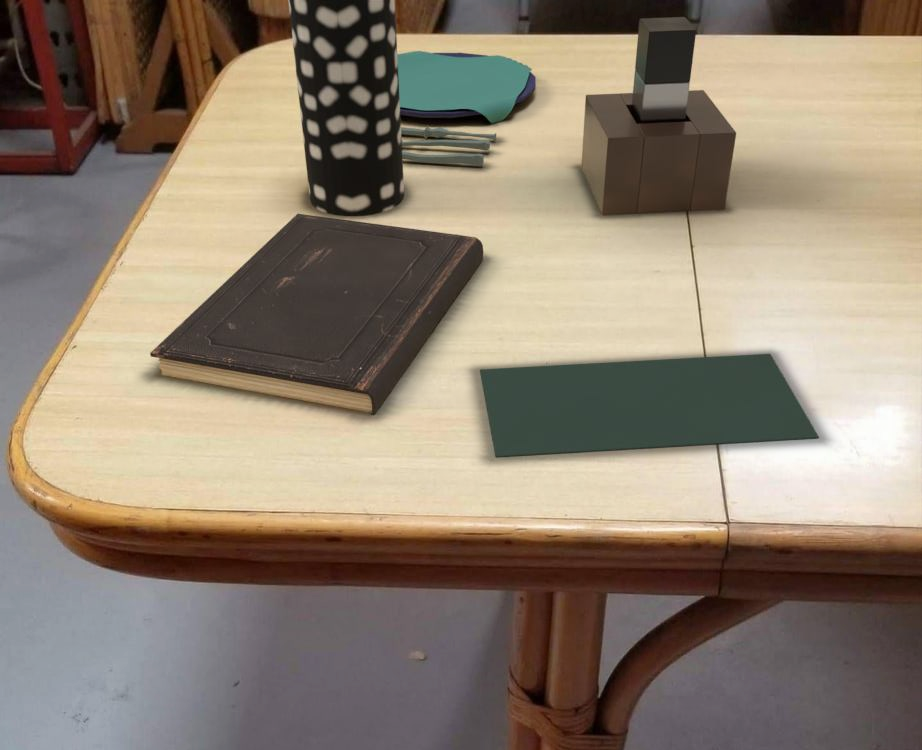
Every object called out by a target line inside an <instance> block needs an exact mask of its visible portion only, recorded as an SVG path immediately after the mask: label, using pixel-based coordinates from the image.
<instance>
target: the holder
mask: <svg viewBox="0 0 922 750" xmlns="http://www.w3.org/2000/svg"><path fill="white" fill-rule="evenodd" d="M632 97H633V92H625V93H624V92H623V93H621V92H620V93H599V94H597V93H596V94H585V103H584V117H583V134H582V148H581V149H582V151H581V167H580V168H581V171H582V173H583V175H584V178H585V180H586V182H587V184H588V187H589V189H590V191H591V194H592V197H593V198H594V201H595V203H596V206H597V207H598V210H599V212H600V214H601V216H622V215H623V216H624V215H644V214H662V213H663V214H665V213H685V212H707V211H725V208H726V203H727V196H728V195H727V194H728V190H729V185H730V176H731V170H732V164H733V159H734V158H733V157H734V151H735V144H736V139H737V138H736V137H737V131H736V130H735V129H734V128H733V125H731V124H730V123H729V121H728V120H727V118H726V117H725V116H724V115H723V113H722V112H721V111H720V110H719V108H718V107H717V106H716V104H715V103H714V101H713V100H712V99H711V98H710V96H709V95H708V94H707V92H706V91H705V90H704V89H697V90H696V89H694V90H693V89H692V90H689V93H688V101H687V109H686V118H685V122H668V123H645V124H637V123H636V122H635V120H634V118H633V117H632V115H631V109H632Z"/></svg>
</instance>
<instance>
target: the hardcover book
mask: <svg viewBox="0 0 922 750" xmlns="http://www.w3.org/2000/svg"><path fill="white" fill-rule="evenodd" d="M483 260H484V244H483V243H482V241H481V240H480V239H479V238H478V237H475V236H470V235H469V236H468V235H461V234H453V233H447V232H439V231H432V230H424V229H417V228H409V227H401V226H393V225H387V224H379V223H372V222H364V221H357V220H349V219H342V218H335V217H327V216H319V215H312V214H304V213H297V214H295V215H294V216H293V217H292V218H291V219H290V220H289V221H288V222H287V223H286V224H285V225H284V226H283V227H282V228H281V229H280V230H278V231H277V232H276V233H275V234H274V235H273V236H272V237H271V238H270V239H269V240H268V241H267V242H266V243H265V244H264V245H263V246H262V247H260V249H258V250H257V251H256V252H255V253H254V254H253V255H252V256H251V257H250V258H249V259H248V260H247V261H245V262H244V264H243V265H242V266H240V267H239V268H238V269H237V270H236V271H235V272H234V273H233V274H232V275H231V276H230V277H229V278H228V279H226V281H225V282H223V283H222V284H221V285H220V286H219V287H218V288H217V289H216V290H215V291H214V292H213V293H212V294H211V295H210V296H209V297H207V298H206V299H205V300H204V302H202V303H201V304H200V305H199V306H198V307H197V308H196V309H195V310H194V311H193V312H192V313H190V315H188V317H186V318H185V319H184V320H183V321H182V322H181V323H180V324H179V325H178V326H176V328H175V329H174V330H173V331H171V332H170V334H168V335H167V336H166V337H165V338H164V339H163V340H162V341H161V342H160V343H159V344H158V345H157V346H155V348H153V350H152V351H151V352H149V354H150V358H151V357H152V358H156V359H157V358H158V362H159V364H158V368H159V369H160V370H161V375H162V376H166V377H171V378H177V379H181V380H182V379H183V380H187V381H193V382H199V383H204V384H210V385H217V386H222V387H227V388H232V389H238V390H244V391H248V392H254V393H260V394H266V395H272V396H277V397H282V398H287V399H294V400H300V401H304V402H311V403H315V404H321V405H327V406H332V407H338V408H344V409H349V410H354V411H359V412H366V413H371V414H370V415H371V416H374V415H375V414H376V413H377V411H378V410H379V408H380V407H381V406H382V404H383V403H384V401H385V400H386V399H387V397H388V396H389V394H390V393H391V391H392V390H393V388H394V387H395V385H396V384H397V382H398V381H399V380H400V378H401V377H402V376H403V374H404V372H405V371H406V370H407V368H408V367H409V365H410V364H411V363H412V361H413V360H414V358H415V357H416V355H417V354H418V352H419V351H420V350H421V348H422V347H423V345H424V344H425V343H426V342H427V340H428V338H429V337H430V336H431V334H432V333H433V331H434V330H435V328H436V327H437V325H438V324H439V322H440V321H441V319H443V317H444V316H445V314H446V312H447V311H448V310H449V308H450V307H451V305H453V303H454V301H455V300H456V299H457V297H458V295H459V294H460V292H461V291H462V290H463V288H464V287H465V285H466V284H467V282H468V281H469V280H470V279H471V277H472V275H473V274H474V273H475V271H476V270H477V268H478V267H479V266H480V264H481V263H482V261H483Z"/></svg>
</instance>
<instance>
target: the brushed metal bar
mask: <svg viewBox="0 0 922 750" xmlns="http://www.w3.org/2000/svg"><path fill="white" fill-rule="evenodd" d="M696 35H697V29H696V28H695V27H694V26H693V25H692V23H691V22H690V21H689V20H688V19H687V18H686V17H685V16H677V17H676V16H673V17H647V18H645V17H644V18H639V20H638V31H637V43H636V53H635V65H634V77H633V89H632V93H633V97H632V109H631V115H632V117H633V118H634V120H635V122H636V123H637V124H645V123H668V122H685V118H686V109H687V101H688V93H689V91H690V82H691V78H692V77H691V76H692V67H693V60H694V53H695V52H694V51H695V45H696V44H695V43H696Z"/></svg>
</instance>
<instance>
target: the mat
mask: <svg viewBox="0 0 922 750" xmlns="http://www.w3.org/2000/svg"><path fill="white" fill-rule="evenodd" d="M479 374H480V379H481V385H482V390H483V397H484V400H485V401H484V403H485V407H486V413H487V418H488V423H489V429H490V434H491V440H492V446H493V450H494V455H495V458H496V459H497V458H512V457H531V456H546V455H562V454H563V455H566V454H581V453H599V452H617V451H631V450H651V449H666V448H681V447H698V446H701V447H702V446H715V445H730V444H731V445H733V444H734V445H735V444H749V443H750V444H751V443H766V442H767V443H768V442H783V441H784V442H785V441H799V440H800V441H801V440H802V441H803V440H815V439H816V440H817V439H819V437H820V436H819V435H818V433H817V432H816V430H815V428H814V426H813V425H812V423H811V421H810V419H809V418H808V416H807V414H806V412H805V411H804V409H803V407H802V405H801V404H800V402H799V400H798V399H797V397H796V396H795V394H794V392H793V390H792V389H791V387H790V385H789V384H788V382H787V380H786V379H785V377H784V374H783V373H782V372H781V370H780V368H779V366H778V364H777V363H776V361H775V359H774V358H773V356H772V354H771V353H759V354H758V353H755V354H739V355H738V354H737V355H720V356H717V355H716V356H702V357H701V356H700V357H683V358H665V359H645V360H627V361H607V362H591V363H574V364H571V363H570V364H554V365H553V364H552V365H536V366H533V365H532V366H517V367H497V368H481V369H479Z"/></svg>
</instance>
